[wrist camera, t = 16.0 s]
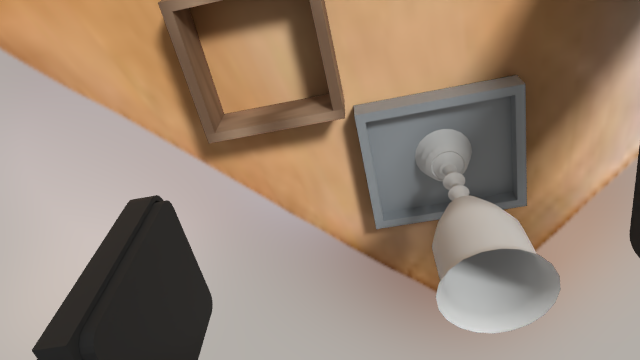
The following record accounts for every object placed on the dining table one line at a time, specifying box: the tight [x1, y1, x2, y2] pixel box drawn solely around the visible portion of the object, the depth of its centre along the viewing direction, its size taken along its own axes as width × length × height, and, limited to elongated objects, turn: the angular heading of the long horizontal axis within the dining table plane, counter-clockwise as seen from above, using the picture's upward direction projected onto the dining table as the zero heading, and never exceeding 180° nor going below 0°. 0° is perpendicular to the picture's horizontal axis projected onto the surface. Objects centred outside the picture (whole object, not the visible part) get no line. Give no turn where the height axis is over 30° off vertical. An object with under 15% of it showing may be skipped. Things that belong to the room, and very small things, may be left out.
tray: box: [354, 75, 527, 229], centre depth 46 cm, size 14×12×2 cm
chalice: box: [415, 129, 560, 333], centre depth 38 cm, size 7×7×18 cm
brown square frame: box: [158, 0, 345, 143], centre depth 41 cm, size 12×12×4 cm
